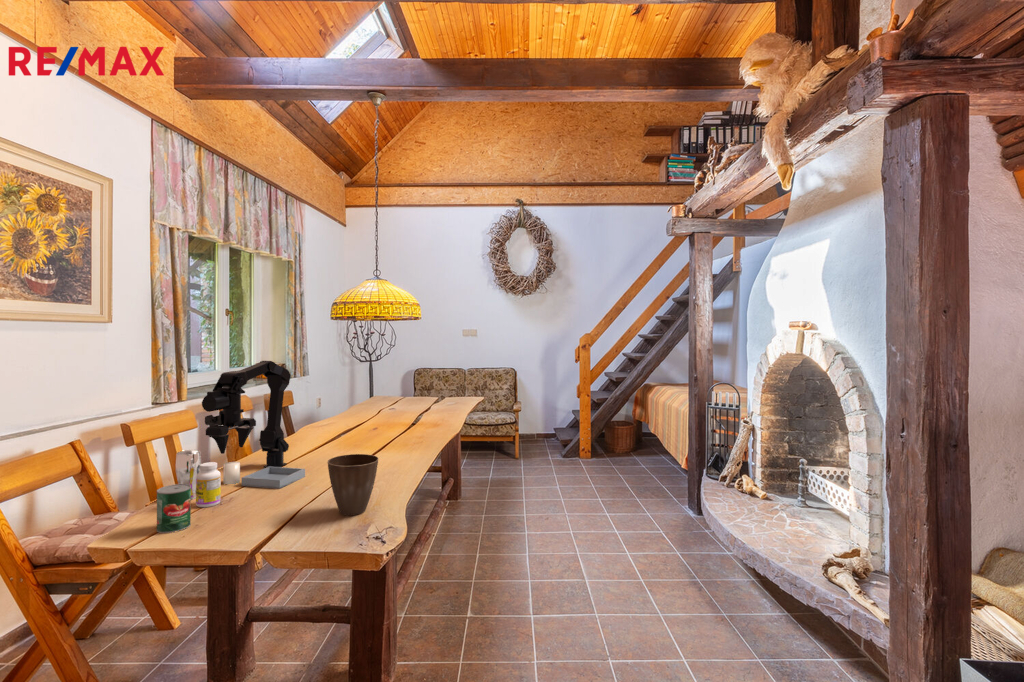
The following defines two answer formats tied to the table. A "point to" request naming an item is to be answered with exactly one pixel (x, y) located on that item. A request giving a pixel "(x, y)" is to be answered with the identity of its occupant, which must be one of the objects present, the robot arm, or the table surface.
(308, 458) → the table surface
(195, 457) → the light grey tall piece
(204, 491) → the supplement bottle
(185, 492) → the canned tomato
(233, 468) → the cream rounded block
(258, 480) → the tray
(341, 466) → the plant pot
